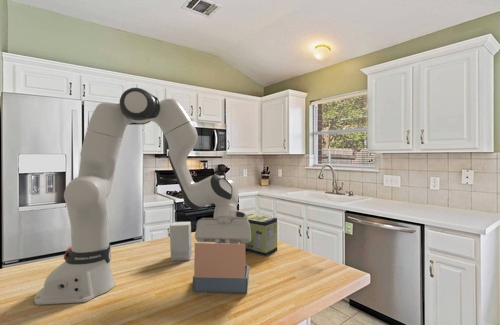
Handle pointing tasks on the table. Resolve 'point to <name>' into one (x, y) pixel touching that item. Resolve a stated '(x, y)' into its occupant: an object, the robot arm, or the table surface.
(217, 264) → the lid
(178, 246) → the skincare box
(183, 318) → the table surface
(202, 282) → the mailer
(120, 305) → the table surface
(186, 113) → the robot arm
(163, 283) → the table surface
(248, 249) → the protein box
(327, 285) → the table surface
